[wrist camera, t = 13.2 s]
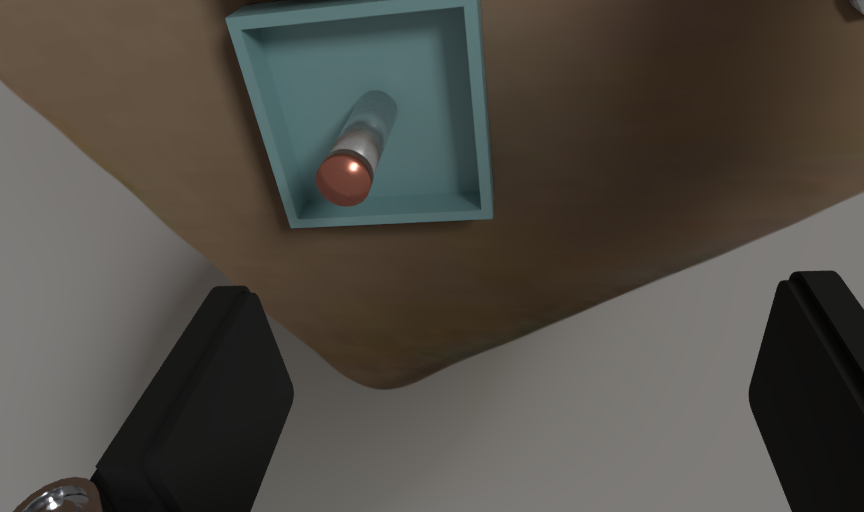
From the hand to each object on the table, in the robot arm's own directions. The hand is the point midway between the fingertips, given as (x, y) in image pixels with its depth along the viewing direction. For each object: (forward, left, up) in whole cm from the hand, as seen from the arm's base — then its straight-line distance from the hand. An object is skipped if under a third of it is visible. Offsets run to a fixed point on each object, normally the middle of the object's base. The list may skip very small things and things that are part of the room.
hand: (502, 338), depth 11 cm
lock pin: (+10, +8, -32) cm, 35 cm away
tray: (+10, +8, -33) cm, 35 cm away
